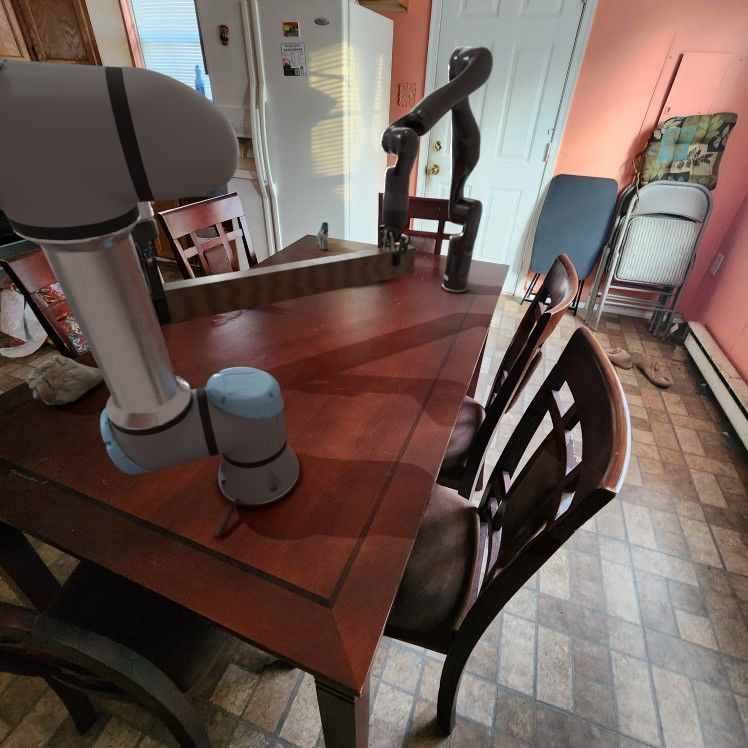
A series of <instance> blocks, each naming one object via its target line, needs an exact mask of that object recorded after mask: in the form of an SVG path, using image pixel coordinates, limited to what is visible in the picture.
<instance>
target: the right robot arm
mask: <svg viewBox="0 0 748 748" xmlns="http://www.w3.org/2000/svg"><path fill="white" fill-rule="evenodd" d="M493 57H494V56H493V53H492V51H491V50H490V49H489V48H488V47H485V46H482V45H481V46H479V45H459V46H457V47H455V48H454V49H453V50H452V52H451V54H450V57H449V61H448V66H447V67H448V68H447V75H448V79H447V80H448V82H446V83H445V84H443V85H441V86H439V87H438V88H435V89H434V90H431V91H430V92H429V93H427V94H426V95H425V96H423V97H422V98H421V99H420V100H419V101H418V102H417V104H415V106H414V107H412V109H410V111H409V112H407V113H405V114H403V115H402V116H400V117H399V118H397V119H395V120H394V121H392V122H391V123H390V124H388V126H386V128H385V129H384V131H383V133H382V135H381V139H380V146H381V149H382V151H383V152H384V153H385V154H387V155H388V156H393V157H397V158H396V161H395V164H394V165H390V166H388V167H387V168H386V169H385V173H384V186H383V187H384V190H383V196H382V211H381V223H382V224H381V225H378V226H377V231H378V242H379V246H380V247H382V248H384V247H391V246H392V247H393V250H394V258H393V266H394V267H398V266H400V263H401V255H402V254H406V252H407V249H408V245H410V241H411V236H410V235H406V234H405V226H406V224H407V223H408V216H409V206H410V183H411V181H410V180H411V175H412V171H413V168H414V165H415V163H416V159H417V156H418V152H419V148H420V137H423V136H425V135H426V134H428V133H429V132H430V131H431V130H432V128H433V127H434V126H436V124H437V123H438V122H440V120H441V119H442V118H443V117H444V116H445V115H446V114H447V113H449V112H450V187H449V188H450V189H449V197H448V199H449V200H448V209H447V210H448V212H447V213H448V219H449V222H450V223H452V224H454V225H458V226H461V227H464V229H463V231H462V232H458V233H454V234H451V235H450V236H449V241H448V247H447V255H446V260H445V261H446V262H445V268H444V273H443V282H442V290H444V291H446V292H449V293H454V294H462V293H465V292H466V291H467V290H468V282H469V279H470V277H469V276H470V272H471V265H472V260H473V254H474V250H475V249H474V248H475V244H476V240H477V237H478V232H479V228H480V224H481V219H482V215H483V203H482V201H481V200H479V199H475V198H470V197H465V194H464V191H465V186H466V183H467V181H468V179H469V178H470V176H471V174H472V172H473V171H474V169H475V168H476V167H477V165H478V163H479V161H480V157H481V145H482V144H481V143H482V134H481V130H480V126H479V124H478V121H477V120H476V117H475V115H474V113H473V110H472V108H471V105H470V104H471V103H470V95H472V94H473V93H475V92H476V91H477V90H479V89H480V88H481V87H483V86H484V85H485V84H486V83H487V81H488V80H489V78H490V76H491V74H492V71H493V67H494V58H493ZM397 247H399V249H398V251H397ZM403 248H404V249H403ZM402 249H403V250H402Z"/></svg>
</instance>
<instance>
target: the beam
mask: <svg viewBox="0 0 748 748" xmlns="http://www.w3.org/2000/svg"><path fill="white" fill-rule="evenodd" d="M398 249H399V247H397V251H398ZM403 249H404V248H403ZM403 249H402V250H403ZM416 253H417V247H415V246H413V245H411V244H409V245H408V249H407V252H406V254H402V255H401V263H400V266H398V267H394V266H393V258H394V250H393V247H392V246H391V247H384V248H383V247H378V248H374V249H373V248H372V249H366V250H360V251H355V252H349V253H342V254H335V255H330V256H325V257H324V256H323V257H318V258H312V259H305V260H300V261H294V262H287V263H280V264H274V265H268V266H262V267H256V268H250V269H244V270H238V271H231V272H225V273H219V274H214V275H213V274H212V275H208V276H201V277H200V276H199V277H195V278H189V279H183V280H177V281H176V280H175V281H170V282H165V283H164V282H162V285H163V288H164V292H165V295H166V302H167V306H168V310H169V313H170V317H171V321H172V323H170V324H165V325H160V328H161V327H165V326H170V325H174V324H179V323H184V322H185V323H186V322H190V321H194V320H199V319H203V318H209V317H213V316H217V315H219V316H220V315H223V314H227V313H232V312H237V311H241V310H247V309H252V308H256V307H260V306H261V307H262V306H266V305H271V304H275V303H281V302H285V301H289V300H295V299H299V298H305V297H309V296H314V295H319V294H324V293H329V292H333V291H338V290H342V289H348V288H352V287H357V286H358V287H359V286H363V285H367V284H371V283H376V282H381V281H382V282H383V281H386V280H391V279H396V278H400V277H405V276H410V275H414V269H415V261H416V260H415V259H416ZM147 287H148V290H149V293H150V296H151V298H152V294H151V291H150V288H149V286H147ZM152 303H153V301H152ZM153 306H154V305H153ZM154 309H155V308H154ZM155 312H156V311H155ZM156 316H157V315H156ZM157 319H158V318H157Z"/></svg>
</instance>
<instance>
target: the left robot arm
mask: <svg viewBox="0 0 748 748" xmlns="http://www.w3.org/2000/svg"><path fill="white" fill-rule="evenodd" d="M239 163H240V143H239V139H238V137H237V133H236V131H235V129H234V127H233V125H232V123H231V121H230V120H229V119H228V117H227V116H226V115H225V113H224V112H223V111H222V110H221V109H220V108H219V107H218V106H217V105H216V104H215V103H214V102H213V101H212V100H210V99H209V98H208V97H207V96H205V94H202V92H200V91H198V90H196V89H195V88H193V87H192V86H190V85H188V84H186V83H184V82H182V81H180V80H179V79H176V78H175V77H171V76H169V75H167V74H163V73H161V72H158V71H155V70H151V69H147V68H143V67H137V66H125V65H124V66H109V65H107V66H106V65H92V64H91V65H90V64H79V63H78V64H77V63H62V62H49V61H35V60H34V61H32V60H17V59H9V58H0V210H1V211H3V213H4V214H5V216H6V218H7V221H8V222H9V224H10V227H11V228H12V230H13V232H14V234H16V235H17V236H19V237H21V238H22V239H25V240H27V241H29V242H32V243H34V244H36V245H38V246H40V248H41V250H42V252H43V254H44V256H45V258H46V260H47V263H48V265H49V266H50V268H51V269H50V270H51V271H52V273H53V275H54V277H55V279H56V282H57V283H58V285H59V288H60V290H61V292H62V294H63V296H64V299H65V300H66V302H67V305H68V307H69V309H70V311H71V313H72V315H73V317H74V319H75V322H76V323H77V326H78V328H79V330H80V332H81V335H82V337H83V338H84V340H85V341H86V344H87V346H88V348H89V351H90V353H91V355H92V357H93V359H94V361H95V364H96V366H97V367H98V369H99V370H100V372H101V374H102V376H103V381H104V382H105V385H106V387H107V389H108V391H109V393H110V396H109V398H107V401H106V406H105V408H103V410H102V412H101V414H100V421H99V426H100V427H99V428H100V434H101V438H102V441H103V443H104V444H105V446H106V452H107V455H108V456H109V458H110V459H111V461H112V462H113V463H114V464H113V465H115V466H116V468H117V469H118V470H120V471H122V473H125V474H126V475H127V474H128V475H134V476H135V475H140V474H146V473H156V472H159V471H161V470H164V469H168V468H172V467H176V466H180V465H183V464H187V463H192V462H197V461H199V460H203V459H206V458H211V457H215V456H219V455H221V459H220V464H219V468H218V474H217V480H218V481H217V482H218V486H219V489H220V492H221V494H222V496H223V497H224V499H225V500H226V501H228V502H229V503H231V504H232V506H231V507H230V509H229V511H228V512H227V514H226V515H225V518H224V519H223V521H222V523H221V525H220V526H219V528H218V530H217V532H216V533H215V534H214V535H215V537H216V538H220V537H221V535H222V533H223V532H224V529H225V528H226V526H227V524H228V523H229V521H230V519H231V517H232V516H233V514H234V513H235V510H236V509H237V507H241V508H246V509H258V508H259V509H260V508H265V507H268V506H271V505H274V504H275V503H277V502H280V501H281V500H283V499H284V498H286V497H287V496H289V494H290V493H291V492H292V491H293V490H294V489H295V487H296V486H297V484H298V482H299V478H300V474H301V473H300V463H299V459H298V457H297V455H296V453H295V451H294V449H292V447H291V444H289V442H288V439H287V431H286V422H285V413H284V407H285V402H284V398H283V397H282V392H281V387H280V384H279V382H278V380H276V378H275V377H274V376H273V375H271V374H270V373H268V372H267V371H263V370H261V369H259V368H255V367H249V366H234V367H233V366H232V367H228V368H224V369H222V370H219V371H218V372H217V373H214V374H213V375H211V376H210V377H209V379H208V380H207V382H206V385H205V387H199V388H193V389H192V388H191V386H190V384H189V382H188V381H186V380H185V379H184V378H182V377H181V376H178V375H176V374H175V370H174V367H173V363H172V360H171V356H170V354H169V351H168V348H167V344H166V341H165V338H164V335H163V331H162V329H161V327H160V325H165V324H170V323H172V321H171V317H170V313H169V310H168V306H167V302H166V295H165V292H164V288H163V285H162V284H163V282H162V277H161V274H160V270H159V264H158V259H157V252H156V249H155V247H154V246H153V243H150V241H154V240H156V239H158V238H159V236H160V232H159V228H158V224H157V220H156V219H155V218H154V215H155V213H154V210H153V207H152V206H154V205H155V202H161V201H172V200H179V199H185V198H205V197H208V198H213V197H218V196H219V197H220V196H225V195H227V193H228V191H229V186H228V185H229V182H230V181H231V180H232V179H233V177H234V176H235V174H236V172H237V170H238V166H239ZM147 286H149V288H150V291H151V294H152V298H151V296H150V293H149V290H148V287H147ZM152 301H153V303H152ZM153 305H154V306H153ZM154 308H155V309H154ZM155 311H156V312H155ZM156 315H157V316H156ZM157 318H158V319H157ZM170 325H171V324H170Z"/></svg>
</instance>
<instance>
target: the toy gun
mask: <svg viewBox="0 0 748 748" xmlns="http://www.w3.org/2000/svg"><path fill="white" fill-rule="evenodd" d="M328 237H329V223H328V222H327V221H325V222H324V221H322V224H321V226H320V229H319V231H318V233H316V238H317V239H316V240H317V242H318V245H319V249H320V250H328V247H329V244H328V243H329V242H328Z"/></svg>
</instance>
